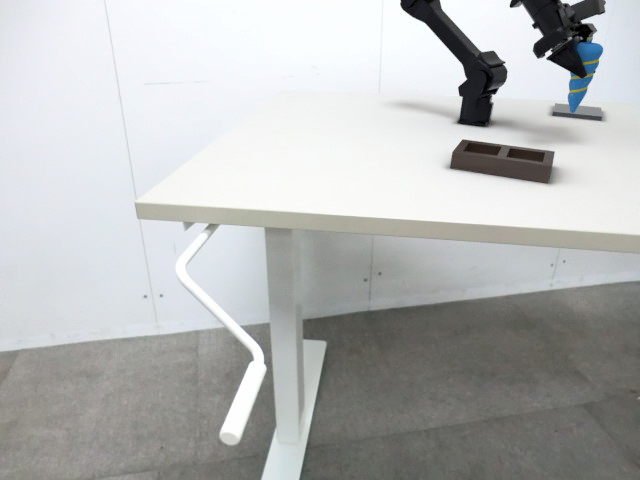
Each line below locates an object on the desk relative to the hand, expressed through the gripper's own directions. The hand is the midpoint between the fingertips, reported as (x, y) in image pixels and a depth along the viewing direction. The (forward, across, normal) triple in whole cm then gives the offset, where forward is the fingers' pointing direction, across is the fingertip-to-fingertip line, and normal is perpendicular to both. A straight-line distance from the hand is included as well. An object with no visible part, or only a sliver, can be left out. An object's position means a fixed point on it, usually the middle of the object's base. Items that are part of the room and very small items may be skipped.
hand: (589, 75), depth 94 cm
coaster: (+4, +28, +15) cm, 32 cm away
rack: (+7, -26, +12) cm, 29 cm away
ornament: (+4, 0, +6) cm, 8 cm away
